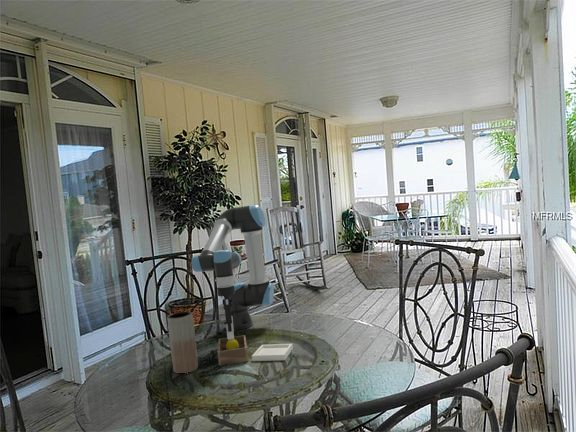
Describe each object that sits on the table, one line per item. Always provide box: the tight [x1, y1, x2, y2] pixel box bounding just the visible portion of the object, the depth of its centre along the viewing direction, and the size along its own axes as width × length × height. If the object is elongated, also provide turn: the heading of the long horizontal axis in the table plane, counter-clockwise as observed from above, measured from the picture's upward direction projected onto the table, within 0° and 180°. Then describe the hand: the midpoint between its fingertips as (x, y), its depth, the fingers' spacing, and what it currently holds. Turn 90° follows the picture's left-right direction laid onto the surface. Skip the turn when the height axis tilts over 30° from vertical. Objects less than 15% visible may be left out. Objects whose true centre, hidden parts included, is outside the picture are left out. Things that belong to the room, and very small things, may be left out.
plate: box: [251, 343, 294, 362], centre depth 186 cm, size 14×14×2 cm
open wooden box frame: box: [217, 334, 249, 366], centre depth 190 cm, size 20×12×6 cm, turn 8°
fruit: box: [226, 339, 239, 350], centre depth 190 cm, size 6×6×8 cm
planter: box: [166, 311, 199, 374], centre depth 179 cm, size 10×10×23 cm
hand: (230, 334), depth 190 cm, fingers open, 13 cm apart
